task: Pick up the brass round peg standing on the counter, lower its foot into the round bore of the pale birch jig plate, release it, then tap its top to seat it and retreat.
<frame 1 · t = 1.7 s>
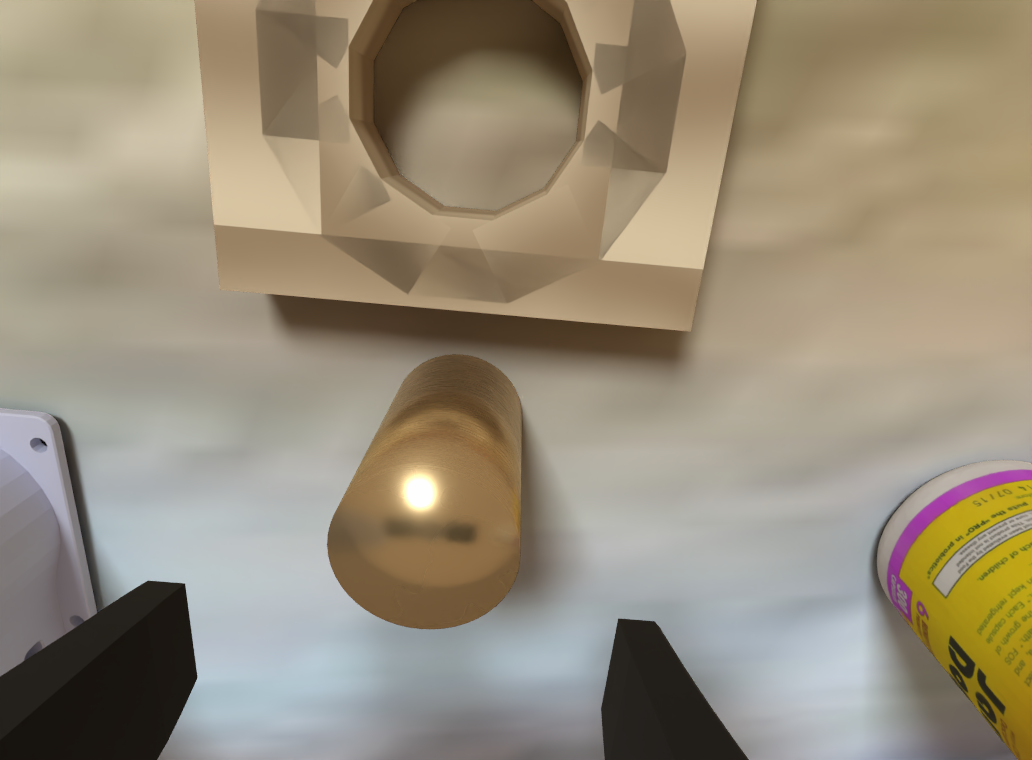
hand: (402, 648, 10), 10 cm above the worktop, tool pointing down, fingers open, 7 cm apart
supplement bottle: (964, 535, 21), on the worktop
jig: (476, 102, 16), on the worktop
brass round peg: (458, 414, 19), on the worktop
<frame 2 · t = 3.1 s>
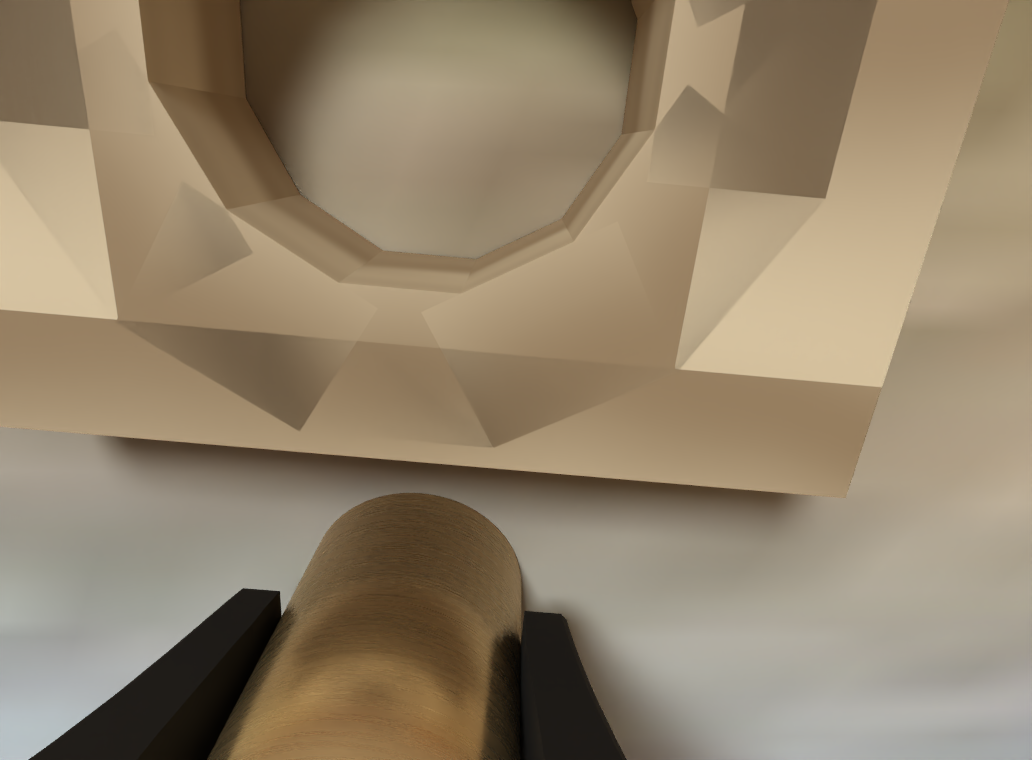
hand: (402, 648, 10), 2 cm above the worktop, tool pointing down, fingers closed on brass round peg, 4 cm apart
jig: (436, 60, 8), on the worktop
brass round peg: (417, 583, 12), on the worktop, touching gripper
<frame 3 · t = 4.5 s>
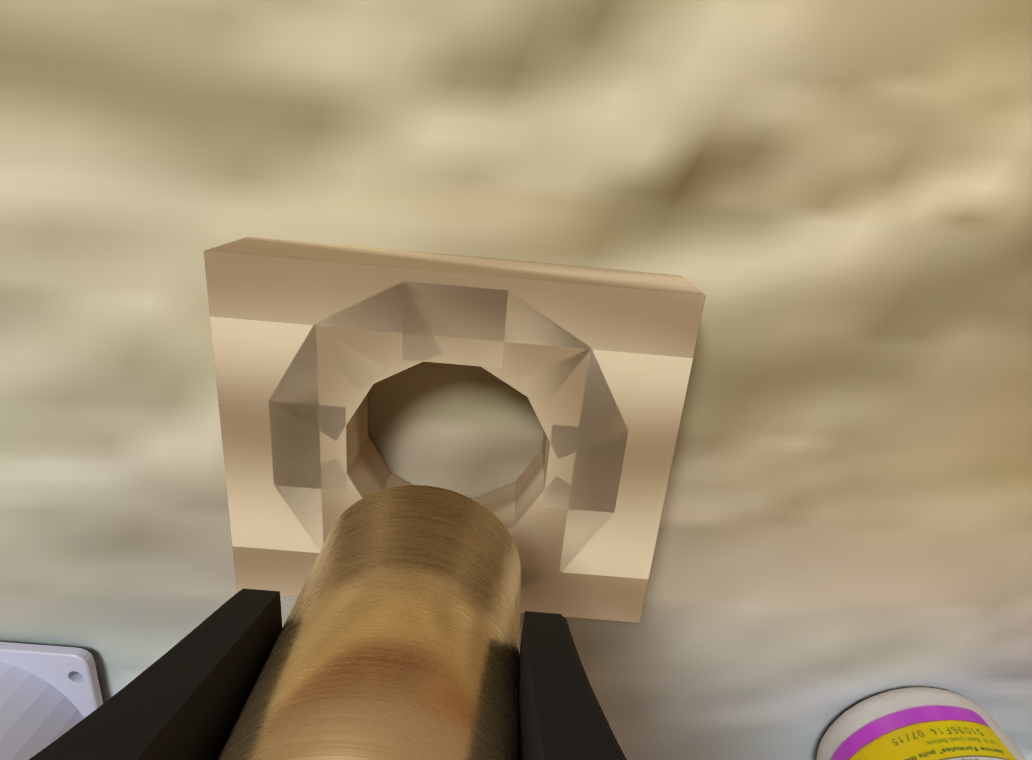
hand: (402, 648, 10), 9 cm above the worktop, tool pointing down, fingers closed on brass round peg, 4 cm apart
supplement bottle: (894, 738, 23), on the worktop
jig: (456, 421, 18), on the worktop
brass round peg: (422, 569, 12), point 7 cm above the worktop, touching gripper
when the fingers open (3 cm above the worktop, at t = 5.8 s): brass round peg stays where it is, resting in jig.
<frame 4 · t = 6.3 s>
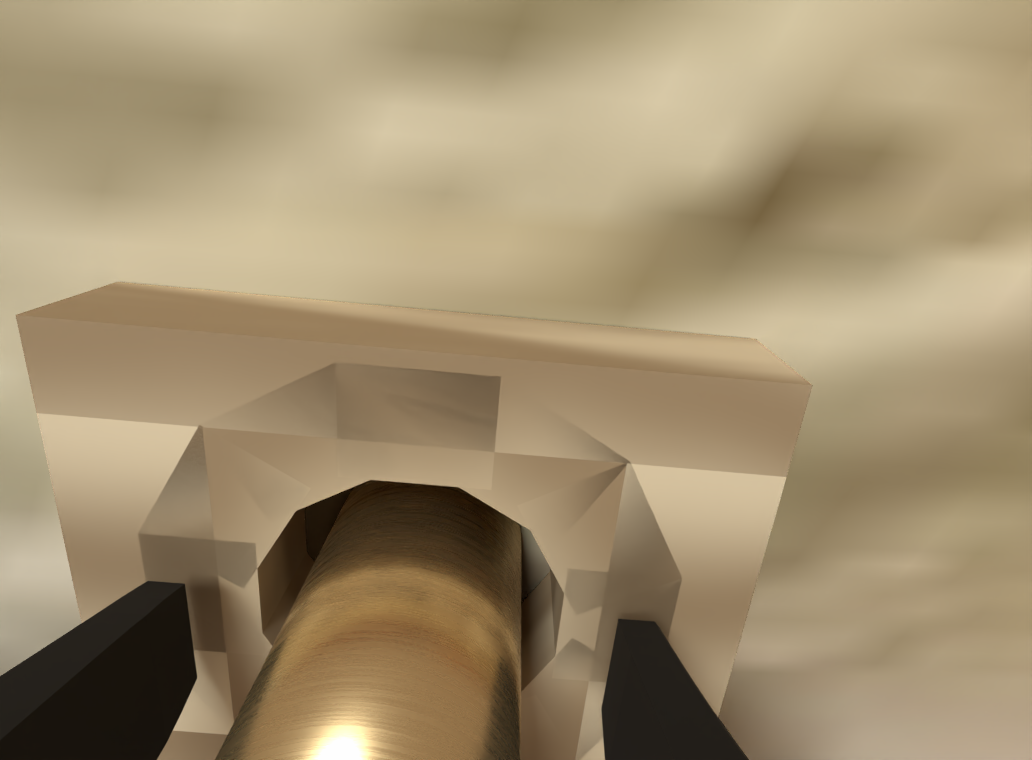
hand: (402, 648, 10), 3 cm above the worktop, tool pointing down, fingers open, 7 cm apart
jig: (430, 534, 13), on the worktop
brass round peg: (429, 539, 13), resting in jig
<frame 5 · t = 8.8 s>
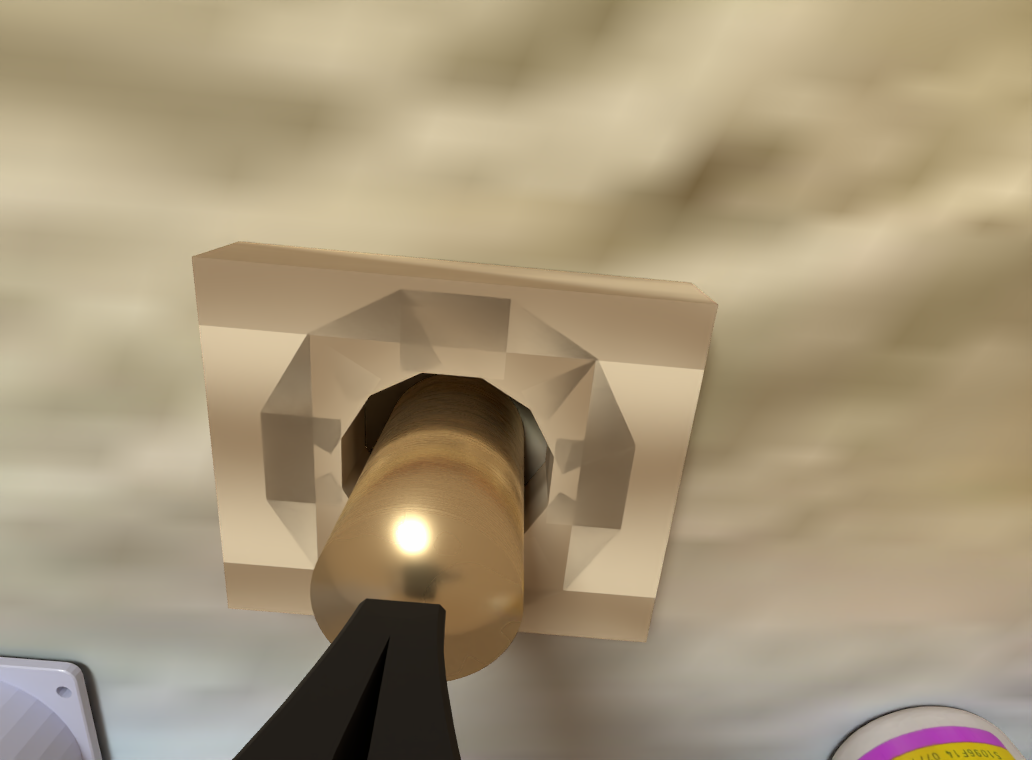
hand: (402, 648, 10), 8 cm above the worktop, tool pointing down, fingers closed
supplement bottle: (907, 758, 23), on the worktop
jig: (456, 432, 18), on the worktop
brass round peg: (456, 436, 18), resting in jig
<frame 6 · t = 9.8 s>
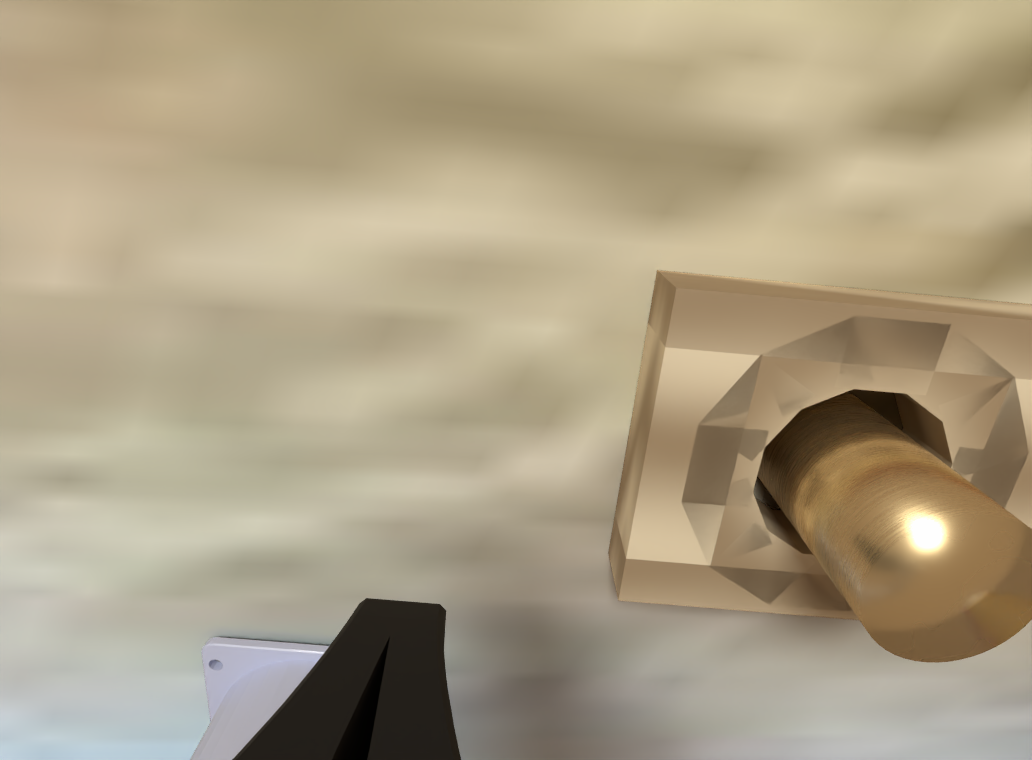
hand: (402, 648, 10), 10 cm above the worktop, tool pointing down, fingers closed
jig: (814, 440, 20), on the worktop
brass round peg: (812, 444, 20), resting in jig
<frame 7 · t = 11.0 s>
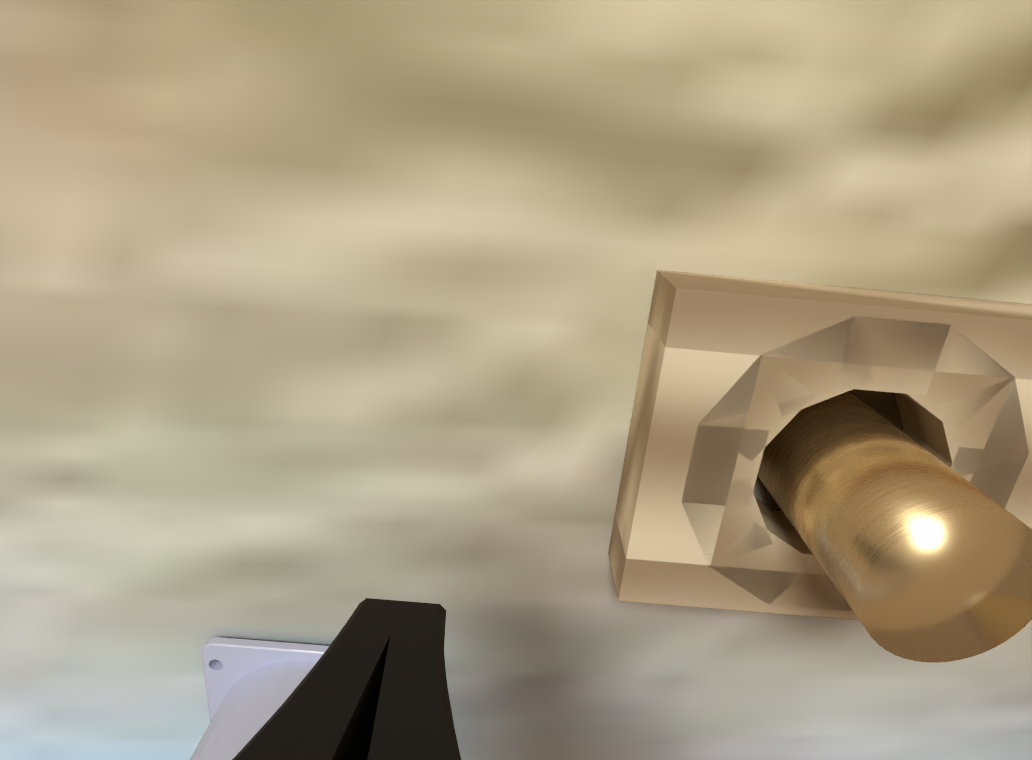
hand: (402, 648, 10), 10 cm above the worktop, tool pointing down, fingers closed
jig: (814, 440, 20), on the worktop
brass round peg: (812, 444, 20), resting in jig
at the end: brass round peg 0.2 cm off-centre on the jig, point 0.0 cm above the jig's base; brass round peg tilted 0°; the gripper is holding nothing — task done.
